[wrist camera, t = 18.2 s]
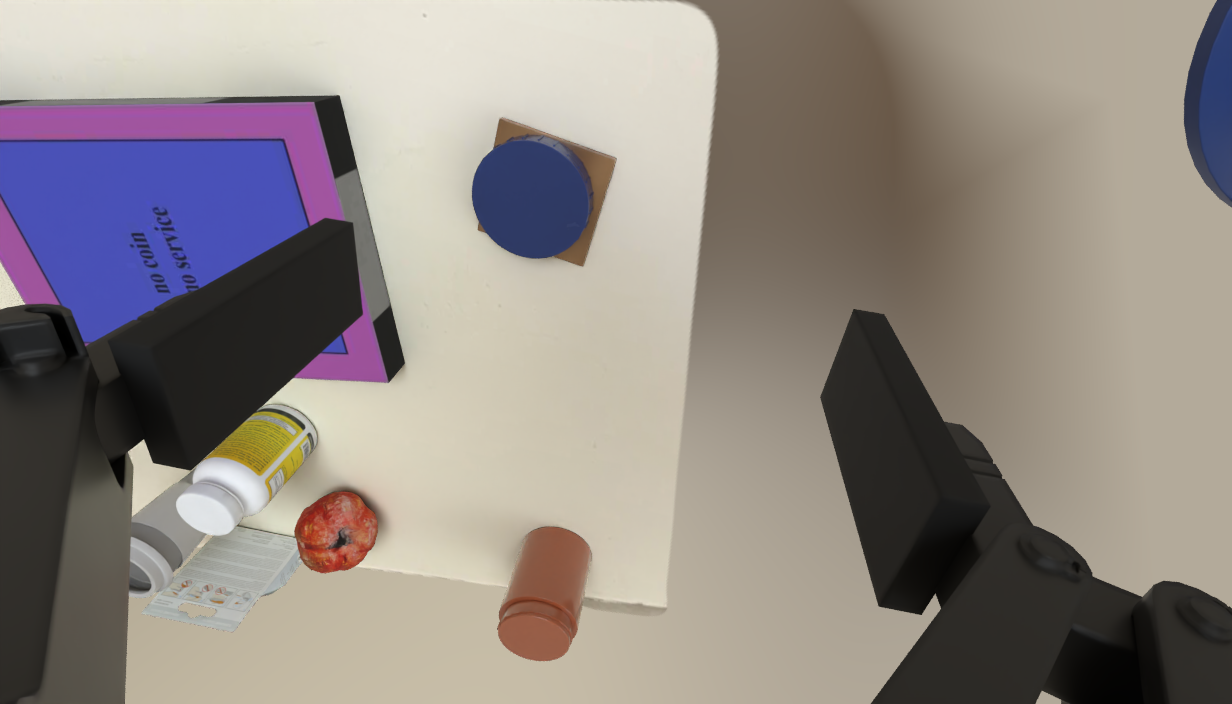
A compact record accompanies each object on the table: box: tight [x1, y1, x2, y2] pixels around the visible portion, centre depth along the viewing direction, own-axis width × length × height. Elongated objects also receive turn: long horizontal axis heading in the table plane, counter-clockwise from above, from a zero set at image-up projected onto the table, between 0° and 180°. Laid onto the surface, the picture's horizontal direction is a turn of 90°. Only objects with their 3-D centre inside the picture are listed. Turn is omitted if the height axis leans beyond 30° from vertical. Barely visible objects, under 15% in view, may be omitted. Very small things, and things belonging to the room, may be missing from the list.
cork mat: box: [478, 117, 616, 266], centre depth 41 cm, size 8×8×1 cm
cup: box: [129, 468, 207, 598], centre depth 56 cm, size 7×7×12 cm
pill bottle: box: [176, 405, 317, 536], centre depth 51 cm, size 6×6×11 cm
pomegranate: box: [294, 491, 378, 573], centre depth 58 cm, size 7×7×10 cm
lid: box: [472, 134, 594, 258], centre depth 40 cm, size 8×8×2 cm
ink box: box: [142, 526, 302, 632], centre depth 60 cm, size 3×9×12 cm, turn 82°
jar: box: [497, 527, 592, 661], centre depth 56 cm, size 7×7×10 cm
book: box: [0, 96, 405, 383], centre depth 46 cm, size 21×3×30 cm
